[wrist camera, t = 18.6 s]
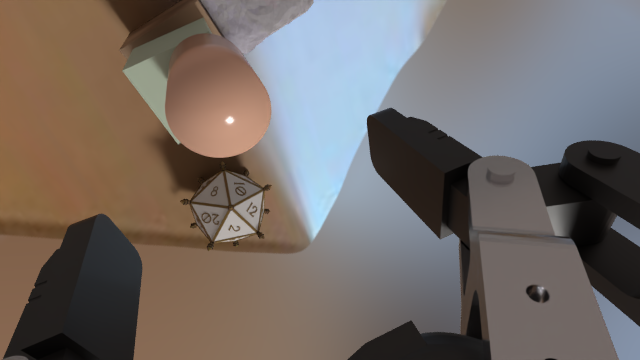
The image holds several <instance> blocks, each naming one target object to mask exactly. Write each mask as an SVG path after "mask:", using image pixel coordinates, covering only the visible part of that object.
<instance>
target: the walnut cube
mask: <svg viewBox="0 0 640 360" xmlns="http://www.w3.org/2000/svg"><path fill="white" fill-rule="evenodd" d="M203 17H204V19H205V21H206V23H207V25H208V27H209V29H210V31H211V32H212V34H215V35H219V36H221V37H223V36H222V34H221V33H220V31H219V29H218V27H217V26H216V24H215V23H214V21H213V20H212V18H211V17H210V15H209V14H208V12H207V10H206V9H205V7H204V6H203V4H202V3H201V1H200V0H181V1H180V2H178V3H177V4H175V5H174V6H172V7H170V8H169V9H167V10H166V11H164V12H162V13H161V14H159V15H158V16H156V17H155V18H153V19H151V20H150V21H148V22H147V23H145V24H144V25H142V26H140V27H139V28H137V29H136V30H134V31H133V32H131V33H130V34H129V36H128V37H127V39H126V40H125V42H124V44H123V45H122V47H121V48H120V50H119V51H120V52H121V53H122V54H123V55H124V57H125V58H126V59H127V60H128V58H129V56H130V54H131V52H132V50H133V49H134V48H136V47H139V46H141V45H143V44H145V43H147V42H150V41H152V40H154V39H156V38H159V37H161V36H163V35H165V34H167V33H170V32H172V31H174V30H176V29H178V28H181V27H183V26H185V25H187V24H190V23H192V22H194V21H196V20H198V19H201V18H203Z"/></svg>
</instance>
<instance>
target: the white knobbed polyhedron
mask: <svg viewBox="0 0 640 360" xmlns="http://www.w3.org/2000/svg"><path fill="white" fill-rule="evenodd" d="M225 165H226V164H225V163H224V162H223V161H222V162H221V164H220V168H221V169H222V170H221V171H220V172H218V173H217V174H215V175H213V176H212V177H210V178H209V179H207V180H206V181H204V179H202V178H198V182H200V183H202V185H201V186H200V187H199V189H198V190H197V192H196V193H195V194H194V196H193V197H192V198H191V200H188V199H183V200H181V201H180V202H181V203H182V204H183V205H184V204H186V205H187V204H190V207H191V210H192V213H193V216H194V219H195V222H196V223H193V224H191V226H190V228H196V226H198V227H199V228H200V229H201V231H202V232H203V233H204V234H205V236H206V237H207V238H208V239H209V241H210V243H209V244H208V246H207V249H208V251H209V250H211V249H213V247H214V246H213V244H214V243H222V242H233V241H234V243H233V244H234V245H233V246H235V247H237V246H238V245H239V244H238V240H241V239H244V238H247V237H250V236H253V235H255V234H257V235H258V237H259V238H262V239H264V234H262V232H259V230H260V226H261V222H262V218H263V214H264V213H265V214H266V213H267V214H268V213H269V212H270V211H269V209H264V203H265V190H270V188H271V186H272V185H268V184H267V185H265V187H264V188H263V187H261V186H260V185H258V184H257V183H255V182H254V181H252V180H251V179H249V178H248V177H247V176H248V174H249V172H248V170H247V171H244V175H242V174H238V173H235V172H232V171H229V170H225V167H226V166H225Z"/></svg>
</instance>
